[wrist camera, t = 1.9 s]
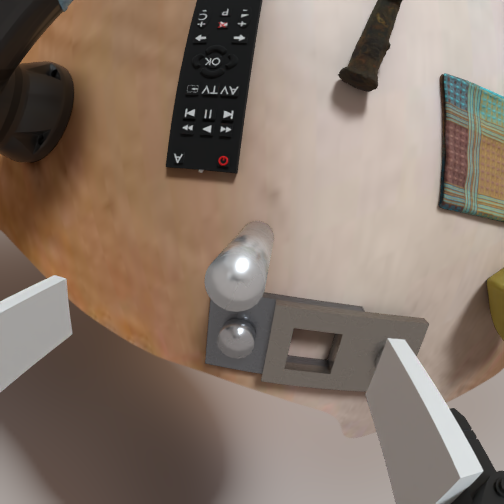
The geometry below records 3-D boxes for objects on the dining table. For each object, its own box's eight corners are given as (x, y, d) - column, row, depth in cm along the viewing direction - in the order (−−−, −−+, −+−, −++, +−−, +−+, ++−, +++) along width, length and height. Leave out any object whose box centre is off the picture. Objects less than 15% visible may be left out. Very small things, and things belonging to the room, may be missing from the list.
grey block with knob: (263, 366, 35) (259, 388, 31) (276, 294, 33) (275, 311, 28) (393, 379, 34) (403, 399, 29) (419, 313, 31) (434, 329, 27)
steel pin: (239, 250, 32) (202, 305, 17) (243, 218, 31) (207, 249, 17) (271, 255, 32) (260, 316, 17) (276, 223, 31) (269, 259, 16)
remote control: (170, 170, 31) (163, 169, 29) (214, -42, 24) (211, -50, 22) (237, 176, 31) (234, 175, 29) (270, -43, 23) (269, -51, 21)
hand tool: (368, 98, 27) (380, 85, 22) (335, 80, 27) (343, 65, 22) (411, -2, 22) (423, -19, 18) (384, -17, 22) (393, -35, 18)
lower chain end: (208, 356, 36) (201, 372, 32) (214, 283, 33) (207, 295, 30) (339, 376, 34) (343, 392, 31) (361, 306, 32) (369, 319, 29)
